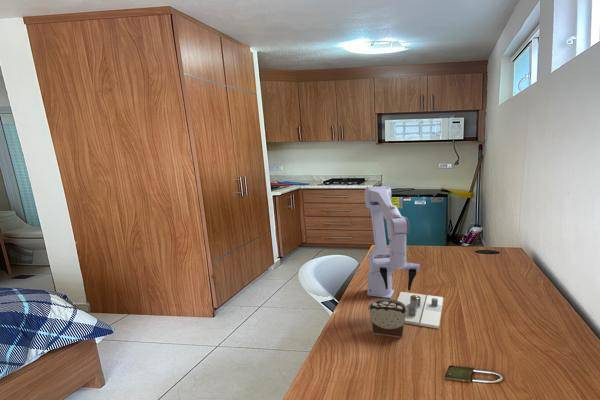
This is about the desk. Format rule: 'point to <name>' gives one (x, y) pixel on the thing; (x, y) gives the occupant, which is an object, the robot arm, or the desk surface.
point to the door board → (423, 310)
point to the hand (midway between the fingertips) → (397, 288)
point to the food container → (387, 317)
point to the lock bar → (414, 304)
